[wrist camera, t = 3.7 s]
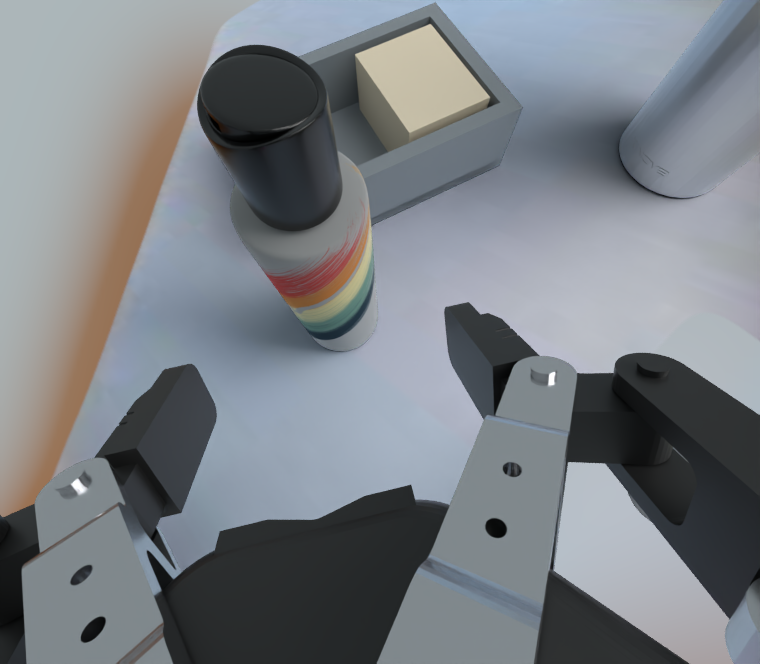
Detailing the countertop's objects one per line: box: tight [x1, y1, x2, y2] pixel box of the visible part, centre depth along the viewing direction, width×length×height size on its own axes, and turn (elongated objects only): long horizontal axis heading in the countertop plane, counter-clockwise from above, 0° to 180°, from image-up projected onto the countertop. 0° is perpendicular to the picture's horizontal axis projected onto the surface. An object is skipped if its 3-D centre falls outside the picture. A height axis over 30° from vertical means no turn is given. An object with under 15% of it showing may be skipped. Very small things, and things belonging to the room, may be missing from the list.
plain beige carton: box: [355, 24, 490, 152], centre depth 31 cm, size 7×9×5 cm
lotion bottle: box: [197, 45, 378, 351], centre depth 19 cm, size 6×6×20 cm
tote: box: [299, 3, 523, 225], centre depth 31 cm, size 20×13×6 cm, turn 118°
